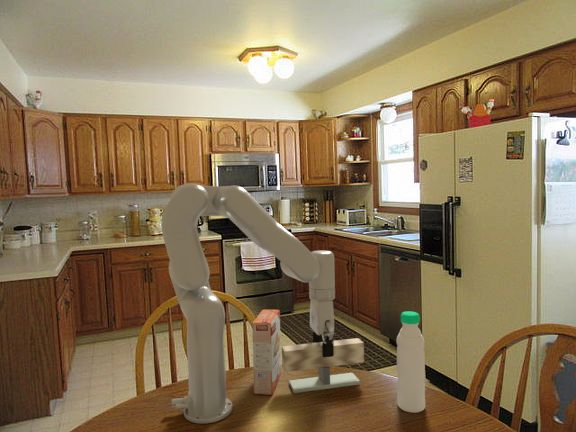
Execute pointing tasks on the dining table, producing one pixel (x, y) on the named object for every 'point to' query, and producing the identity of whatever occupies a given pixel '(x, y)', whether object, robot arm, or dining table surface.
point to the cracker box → (266, 351)
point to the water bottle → (410, 364)
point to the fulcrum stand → (323, 381)
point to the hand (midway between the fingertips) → (322, 350)
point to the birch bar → (312, 355)
